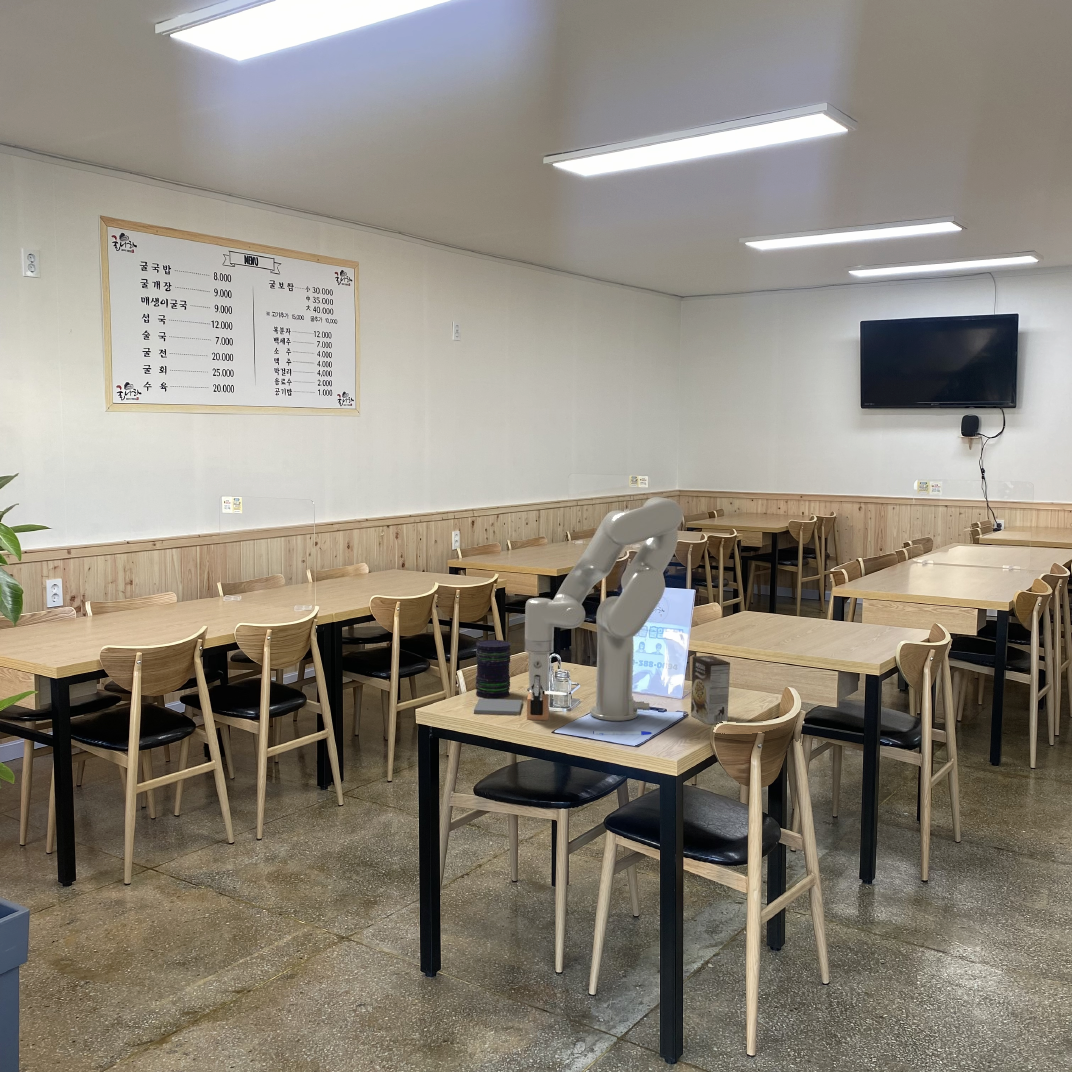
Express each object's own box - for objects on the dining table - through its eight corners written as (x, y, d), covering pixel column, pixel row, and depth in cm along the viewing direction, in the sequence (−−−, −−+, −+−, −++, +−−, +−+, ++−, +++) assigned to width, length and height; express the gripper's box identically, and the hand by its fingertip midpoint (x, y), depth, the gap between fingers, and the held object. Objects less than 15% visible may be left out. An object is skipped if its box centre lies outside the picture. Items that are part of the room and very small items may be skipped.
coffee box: (689, 715, 265) (691, 656, 263) (710, 713, 267) (712, 654, 266) (707, 724, 256) (709, 663, 255) (728, 722, 258) (730, 661, 257)
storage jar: (494, 700, 276) (495, 648, 275) (468, 695, 282) (468, 643, 281) (517, 694, 284) (517, 642, 283) (490, 688, 290) (491, 638, 289)
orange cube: (548, 714, 263) (549, 694, 263) (547, 720, 258) (548, 699, 257) (528, 714, 264) (528, 693, 263) (526, 719, 258) (527, 698, 258)
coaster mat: (522, 703, 274) (522, 700, 274) (519, 715, 262) (519, 711, 262) (478, 702, 275) (478, 698, 275) (473, 713, 263) (473, 710, 263)
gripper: (552, 652, 250) (550, 719, 252) (554, 639, 268) (552, 702, 269) (522, 651, 251) (521, 718, 252) (526, 639, 268) (525, 701, 269)
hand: (537, 709), depth 261 cm, fingers open, 9 cm apart
